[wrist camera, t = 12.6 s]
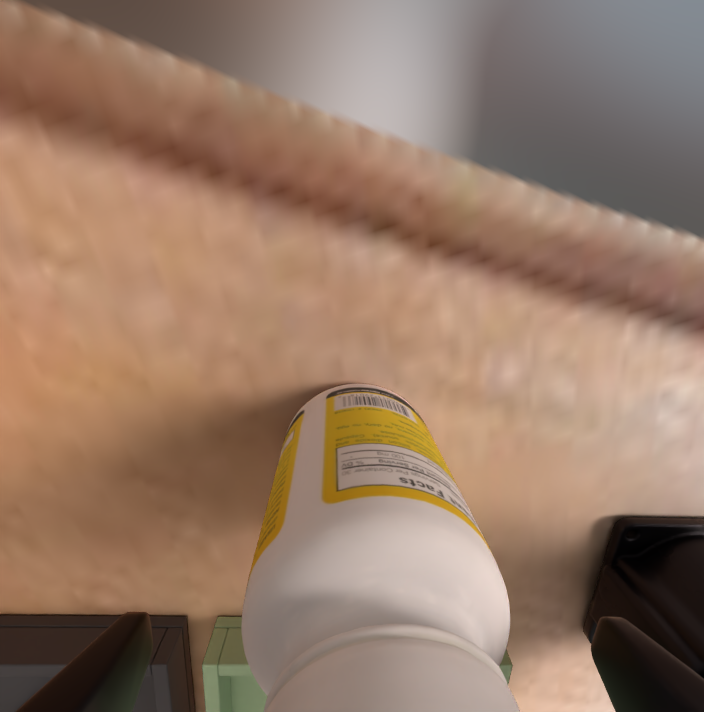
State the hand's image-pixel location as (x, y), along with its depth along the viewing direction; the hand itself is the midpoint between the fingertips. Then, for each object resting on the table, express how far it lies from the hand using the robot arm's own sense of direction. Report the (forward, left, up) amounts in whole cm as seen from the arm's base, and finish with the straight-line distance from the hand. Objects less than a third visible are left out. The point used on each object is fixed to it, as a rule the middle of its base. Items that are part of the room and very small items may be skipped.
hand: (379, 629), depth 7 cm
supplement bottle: (0, 0, -7) cm, 7 cm away
